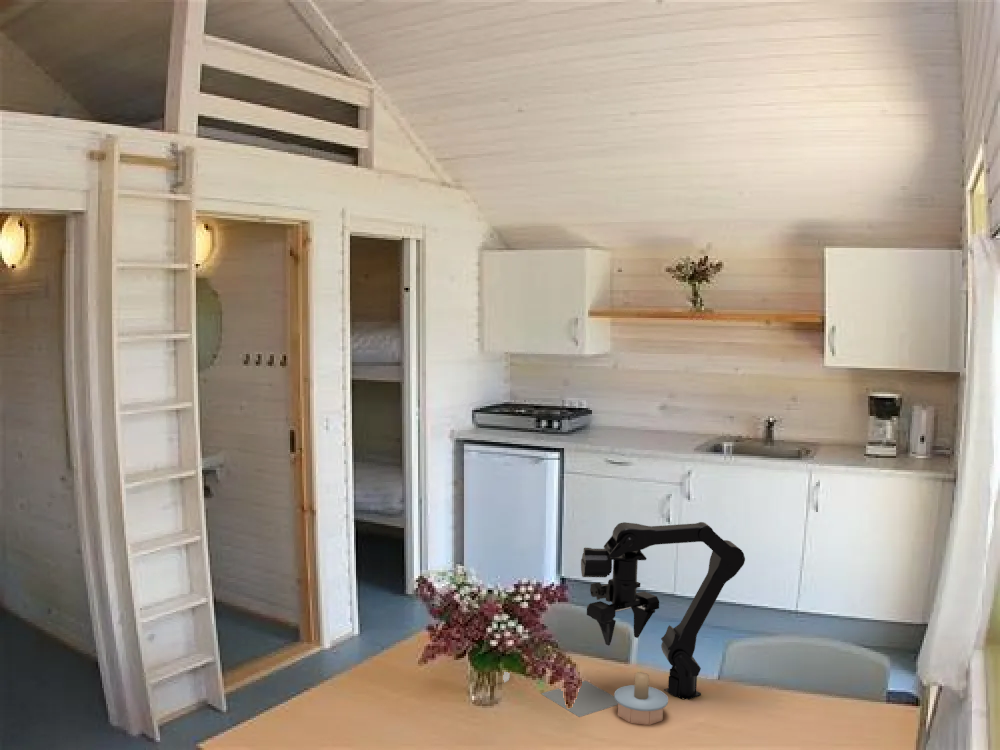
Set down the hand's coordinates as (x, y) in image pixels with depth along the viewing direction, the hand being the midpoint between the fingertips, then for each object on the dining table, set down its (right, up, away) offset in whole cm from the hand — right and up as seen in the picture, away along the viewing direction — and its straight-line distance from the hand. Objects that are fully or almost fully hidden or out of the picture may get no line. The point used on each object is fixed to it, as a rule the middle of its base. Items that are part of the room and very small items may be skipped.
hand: (622, 641), depth 211 cm
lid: (+3, -10, -11) cm, 15 cm away
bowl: (+3, -14, -10) cm, 17 cm away
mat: (-10, -13, -3) cm, 17 cm away
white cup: (-30, -12, +7) cm, 33 cm away
